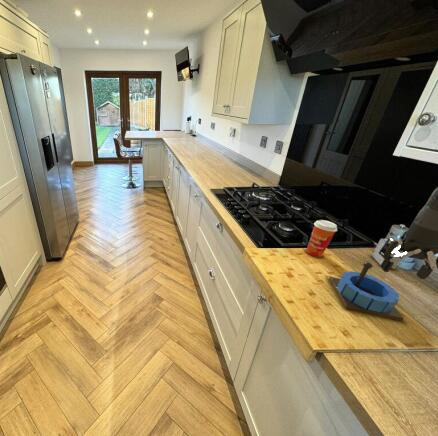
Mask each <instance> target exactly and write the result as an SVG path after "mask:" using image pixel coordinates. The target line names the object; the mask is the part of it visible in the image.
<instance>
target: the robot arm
mask: <svg viewBox="0 0 438 436" xmlns="http://www.w3.org/2000/svg"><path fill="white" fill-rule="evenodd" d="M387 239H388V240H387V241H386V242H385V244H384V245H383V247H382V248H381V250H380V251H379V254H380V255H381V256H382V257H383V258H384V261H383V262H382V264H381V265H380V268H381V270H382V271H383V272H385V273H389V272H390V270H391V269H392V268H391V267H392V266H393V264H394V261H397V260H399V259H401V260H404V259H407V258H409V259H417V260H420V261H423V263H424V264H422V265H421V266H420V268H419V269H418V271H417V273H416V277H418V279H420V280H425V279H427V278H429V277H430V275H431V274H432V273H433V271H434V270H437V269H438V256H437V257H435V256H436V255H437V254H438V186H437V187H436V188H434V190H433V191H432V193H431V195H430V196H429V198H428V199H427V201H426V202H425V204H424V206H423V207H422V208H421V209H420V210H419V211H418V213H417V214H416V216H415V218H414V220H413V221H412V222H411V224H410V225H409V228H407V231H406V232H405V236H404V238H403V239H402V240H399V239H395V238H394V237H392V236H390V237H388V238H387ZM399 245H400V247H398V246H399ZM397 247H398V248H397ZM395 248H396V249H395ZM401 251H402V252H403V254H401V253H400V252H401ZM395 255H396V256H395Z"/></svg>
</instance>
